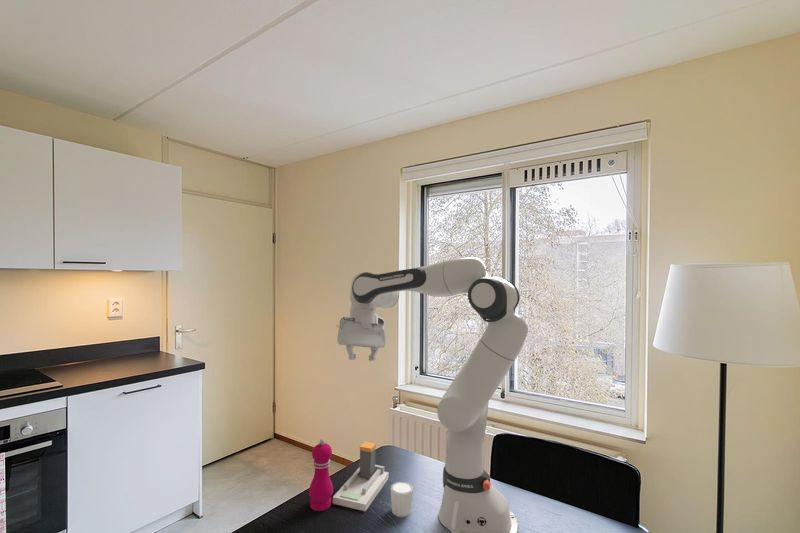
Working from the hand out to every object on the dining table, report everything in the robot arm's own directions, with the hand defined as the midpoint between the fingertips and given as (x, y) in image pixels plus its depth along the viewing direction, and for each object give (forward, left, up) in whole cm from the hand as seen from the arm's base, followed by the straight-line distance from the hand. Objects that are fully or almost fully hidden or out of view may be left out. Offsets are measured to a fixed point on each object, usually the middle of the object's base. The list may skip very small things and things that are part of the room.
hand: (362, 360), depth 129 cm
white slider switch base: (-2, +2, -42) cm, 42 cm away
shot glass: (-18, +8, -42) cm, 46 cm away
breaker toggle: (-2, -3, -39) cm, 40 cm away
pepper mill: (+6, +14, -42) cm, 45 cm away
